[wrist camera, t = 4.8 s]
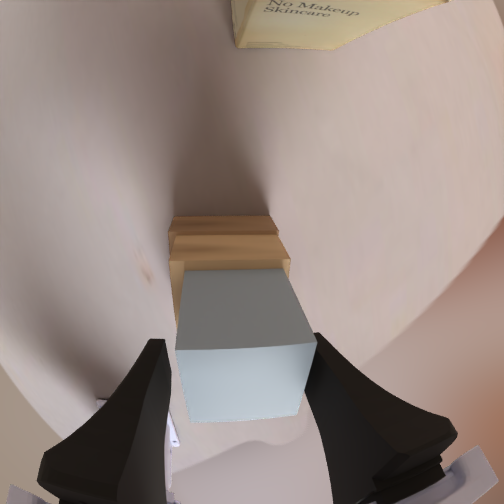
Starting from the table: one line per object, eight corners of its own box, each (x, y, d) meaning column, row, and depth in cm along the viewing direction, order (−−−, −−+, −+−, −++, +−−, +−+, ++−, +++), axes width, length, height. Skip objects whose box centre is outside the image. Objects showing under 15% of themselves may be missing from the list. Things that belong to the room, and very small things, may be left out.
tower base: (263, 292, 21) (270, 318, 18) (180, 294, 20) (177, 320, 17) (268, 213, 18) (278, 230, 16) (174, 214, 18) (168, 231, 15)
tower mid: (269, 314, 18) (279, 346, 15) (183, 317, 17) (179, 350, 15) (277, 234, 16) (290, 259, 13) (176, 235, 15) (168, 260, 12)
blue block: (274, 340, 15) (296, 414, 11) (191, 343, 15) (190, 422, 10) (283, 268, 13) (317, 342, 9) (184, 270, 13) (174, 350, 8)
